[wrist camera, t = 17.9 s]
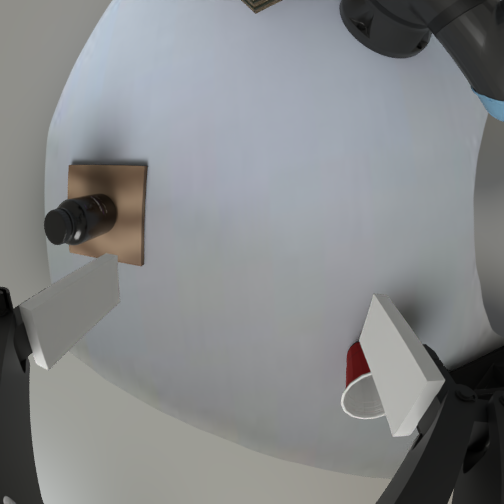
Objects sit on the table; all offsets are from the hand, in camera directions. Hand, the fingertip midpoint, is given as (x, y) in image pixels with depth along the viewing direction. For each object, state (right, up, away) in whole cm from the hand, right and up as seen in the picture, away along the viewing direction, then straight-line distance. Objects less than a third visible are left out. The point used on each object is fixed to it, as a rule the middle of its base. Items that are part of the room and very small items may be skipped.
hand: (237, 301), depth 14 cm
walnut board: (-24, +9, +30) cm, 40 cm away
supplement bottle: (-24, +9, +29) cm, 39 cm away
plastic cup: (+20, -16, +33) cm, 41 cm away
